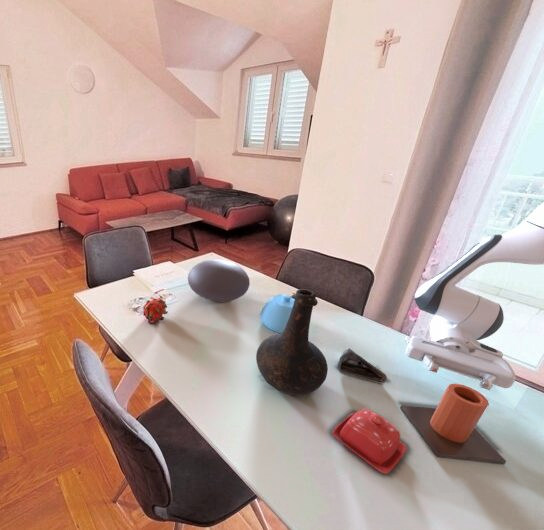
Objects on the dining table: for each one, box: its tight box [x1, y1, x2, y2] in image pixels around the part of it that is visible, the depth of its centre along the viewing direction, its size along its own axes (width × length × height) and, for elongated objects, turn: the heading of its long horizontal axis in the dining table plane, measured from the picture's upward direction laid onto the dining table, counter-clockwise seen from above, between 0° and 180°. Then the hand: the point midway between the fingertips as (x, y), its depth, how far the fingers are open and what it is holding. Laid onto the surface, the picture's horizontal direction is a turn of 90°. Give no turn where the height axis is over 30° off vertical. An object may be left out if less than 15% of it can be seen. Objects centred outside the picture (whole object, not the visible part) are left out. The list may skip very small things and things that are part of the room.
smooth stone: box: [187, 259, 251, 303], centre depth 129 cm, size 25×25×15 cm
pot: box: [430, 383, 490, 443], centre depth 70 cm, size 6×6×11 cm
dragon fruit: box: [142, 297, 169, 324], centre depth 115 cm, size 8×8×12 cm
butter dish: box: [332, 408, 407, 475], centre depth 69 cm, size 12×12×8 cm
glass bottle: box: [255, 288, 329, 396], centre depth 82 cm, size 18×18×28 cm
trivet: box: [399, 404, 507, 465], centre depth 73 cm, size 13×13×1 cm
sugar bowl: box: [259, 293, 295, 334], centre depth 111 cm, size 15×15×12 cm
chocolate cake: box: [337, 347, 388, 385], centre depth 92 cm, size 10×7×12 cm
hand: (459, 378), depth 76 cm, fingers open, 8 cm apart
